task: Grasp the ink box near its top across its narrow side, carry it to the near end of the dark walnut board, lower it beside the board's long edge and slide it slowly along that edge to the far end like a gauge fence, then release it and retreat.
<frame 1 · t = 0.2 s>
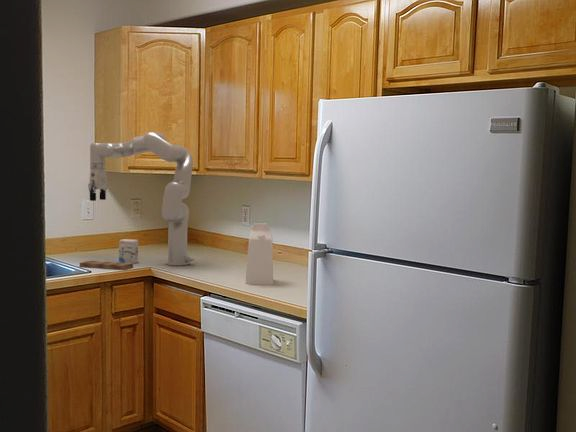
hand: (97, 200, 314), 31 cm above the counter, tool pointing down, fingers open, 9 cm apart
board: (106, 267, 293), on the counter
milk: (259, 282, 268), on the counter
ink box: (128, 263, 307), on the counter
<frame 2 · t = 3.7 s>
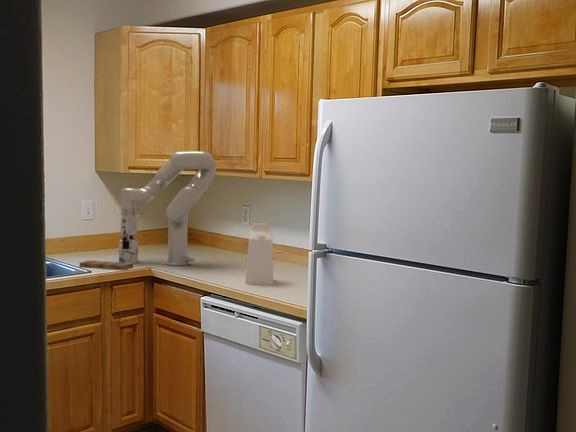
hand: (128, 247, 306), 8 cm above the counter, tool pointing down, fingers closed on ink box, 5 cm apart
ink box: (128, 263, 307), on the counter, touching gripper
everything else where it was.
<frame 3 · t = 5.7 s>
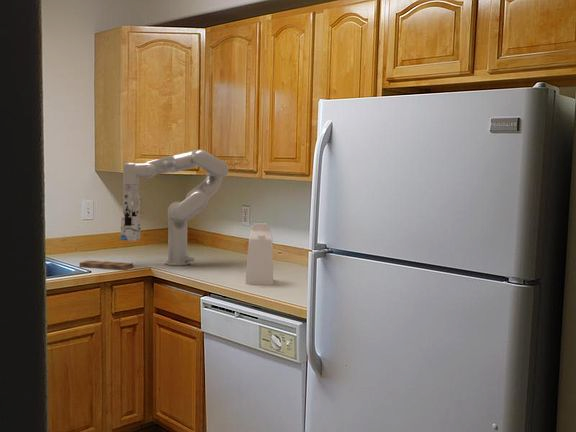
hand: (130, 224, 296), 20 cm above the counter, tool pointing down, fingers closed on ink box, 5 cm apart
ink box: (130, 240, 297), point 13 cm above the counter, touching gripper
everything else where it was.
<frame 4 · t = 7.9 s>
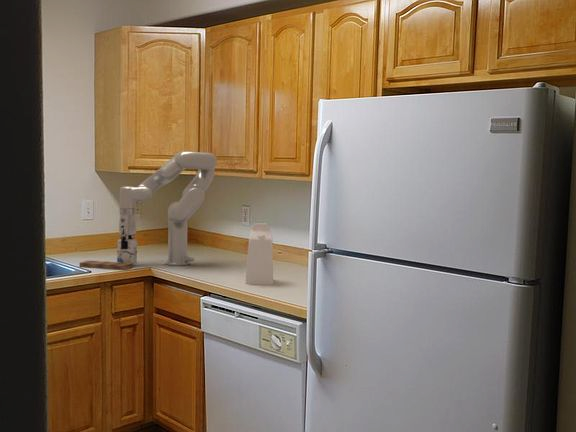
hand: (127, 247, 298), 9 cm above the counter, tool pointing down, fingers closed on ink box, 5 cm apart
ink box: (127, 263, 299), point 1 cm above the counter, touching gripper
everything else where it was.
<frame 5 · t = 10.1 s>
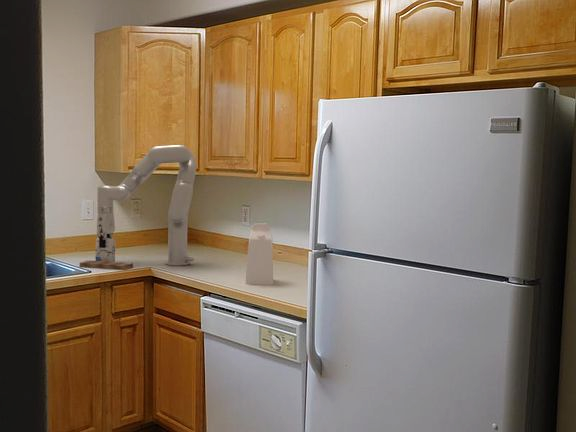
hand: (105, 246, 300), 9 cm above the counter, tool pointing down, fingers closed on ink box, 5 cm apart
ink box: (105, 262, 301), point 1 cm above the counter, touching gripper
everything else where it was.
when the fingers open (9 cm above the counter, at t = 12.0 s): ink box drops 1 cm, on the counter.
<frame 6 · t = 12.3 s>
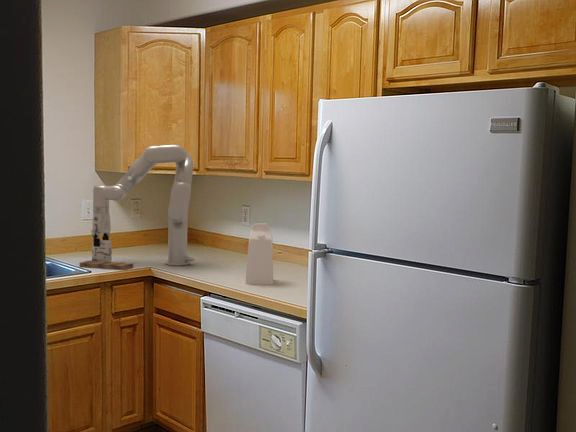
hand: (101, 245, 301), 9 cm above the counter, tool pointing down, fingers open, 8 cm apart
ink box: (101, 264, 302), on the counter
everything else where it was.
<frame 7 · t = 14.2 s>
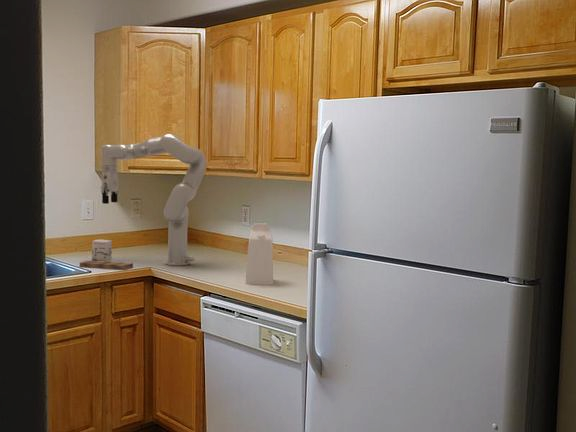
hand: (109, 202, 308), 30 cm above the counter, tool pointing down, fingers open, 9 cm apart
nothing on the counter moved.
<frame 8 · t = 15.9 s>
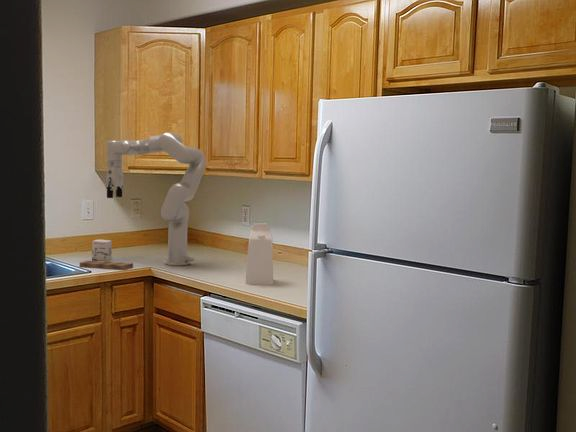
hand: (114, 197, 314), 32 cm above the counter, tool pointing down, fingers open, 9 cm apart
nothing on the counter moved.
at the end: ink box inside the target area (0.4 cm from its centre), on the counter; ink box tilted 0°; the gripper is holding nothing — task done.
